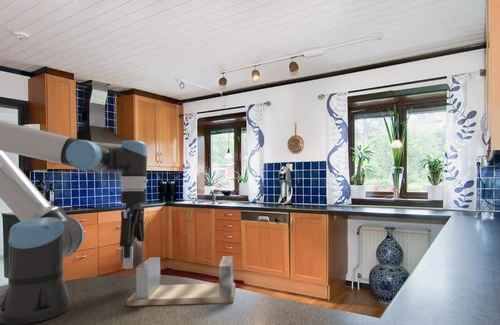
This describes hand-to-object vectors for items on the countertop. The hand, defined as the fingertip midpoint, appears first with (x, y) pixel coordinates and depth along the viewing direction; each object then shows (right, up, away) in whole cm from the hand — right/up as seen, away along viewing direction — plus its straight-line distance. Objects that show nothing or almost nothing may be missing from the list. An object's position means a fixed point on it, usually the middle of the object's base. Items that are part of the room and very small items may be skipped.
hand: (132, 265), depth 101 cm
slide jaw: (+8, -5, -8) cm, 12 cm away
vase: (0, -1, 0) cm, 1 cm away
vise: (+18, -6, -8) cm, 21 cm away
